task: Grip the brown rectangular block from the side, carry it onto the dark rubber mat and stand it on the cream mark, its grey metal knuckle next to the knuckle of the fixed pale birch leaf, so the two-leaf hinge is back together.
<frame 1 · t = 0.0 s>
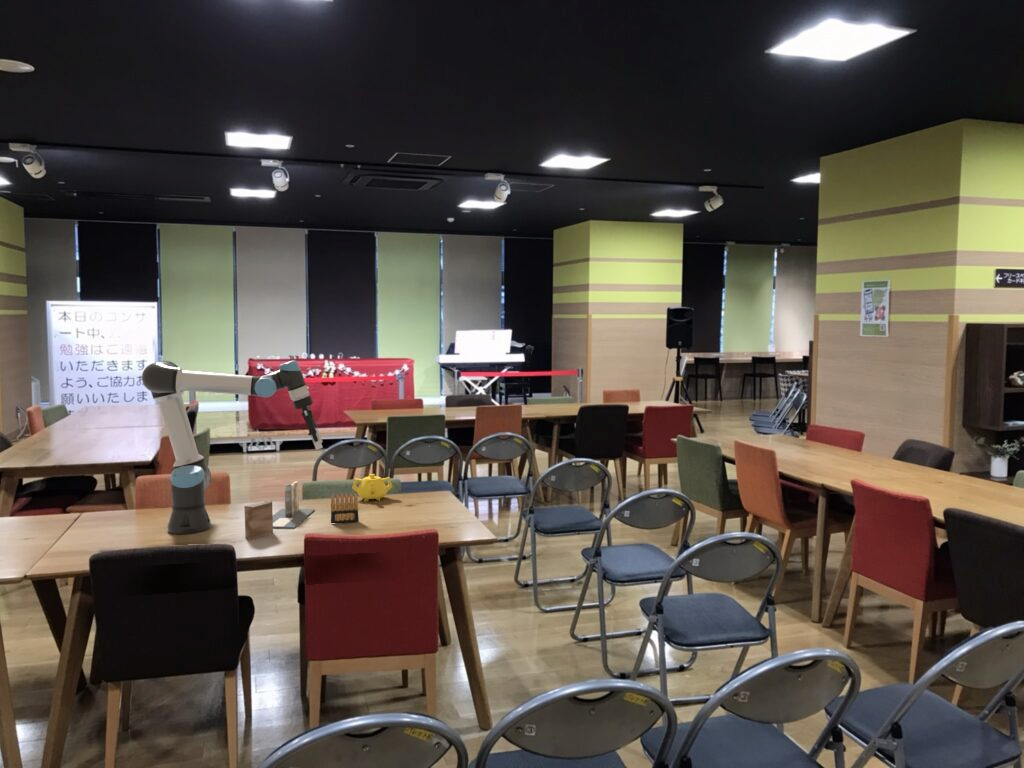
hand: (319, 446, 314), 28 cm above the table, tool tilted 20°, fingers open, 13 cm apart
brown rectangular block: (259, 535, 283), on the table
ammunition clip: (344, 523, 301), on the table
teapot: (372, 499, 340), on the table
birch hinge leaf: (292, 497, 312), on the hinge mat, point 7 cm above the table
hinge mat: (287, 518, 307), on the table
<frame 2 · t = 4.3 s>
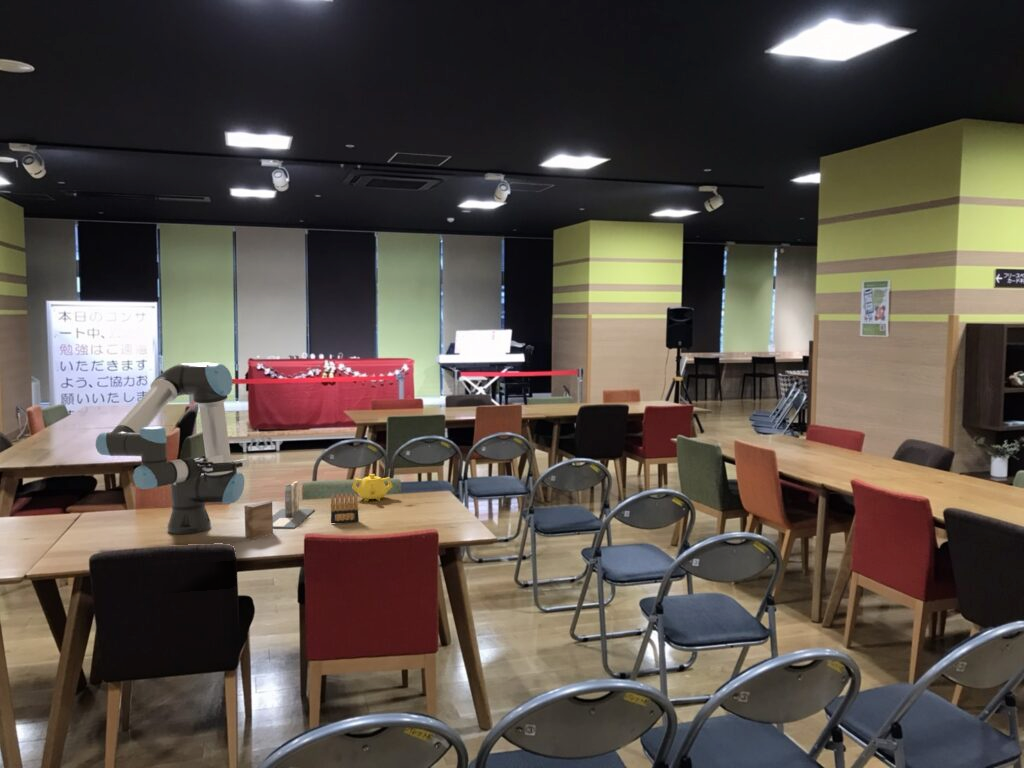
hand: (235, 460, 272), 30 cm above the table, tool horizontal, fingers open, 13 cm apart
nothing on the table moved.
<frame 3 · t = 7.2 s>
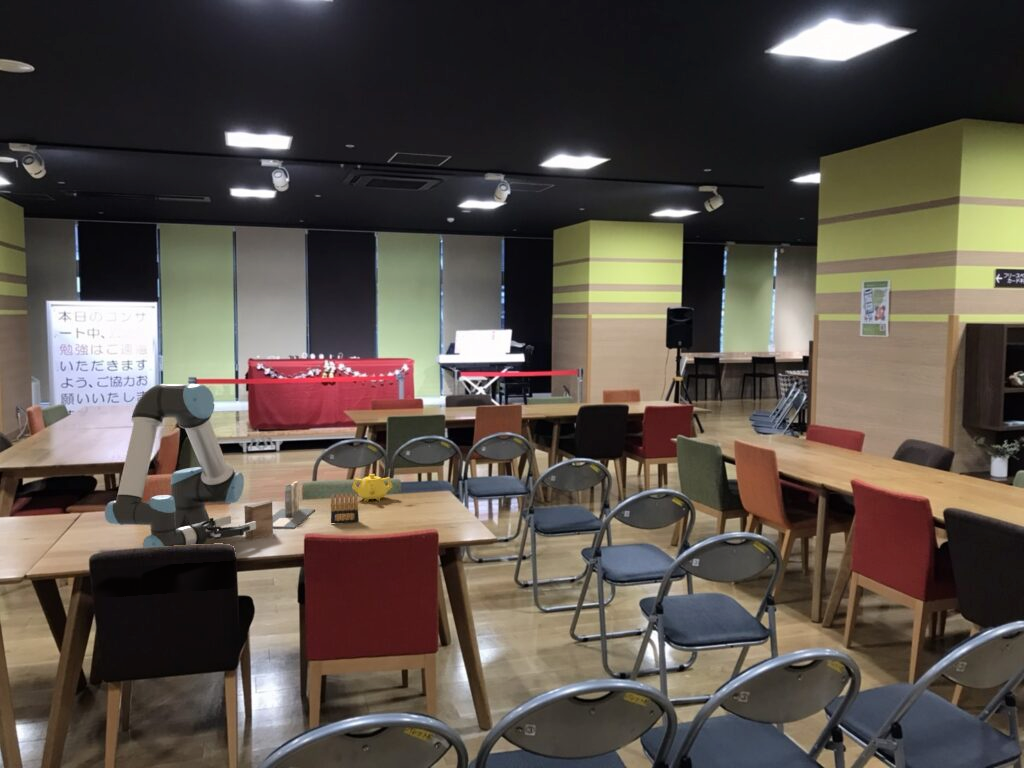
hand: (242, 522, 276), 7 cm above the table, tool horizontal, fingers open, 13 cm apart
nothing on the table moved.
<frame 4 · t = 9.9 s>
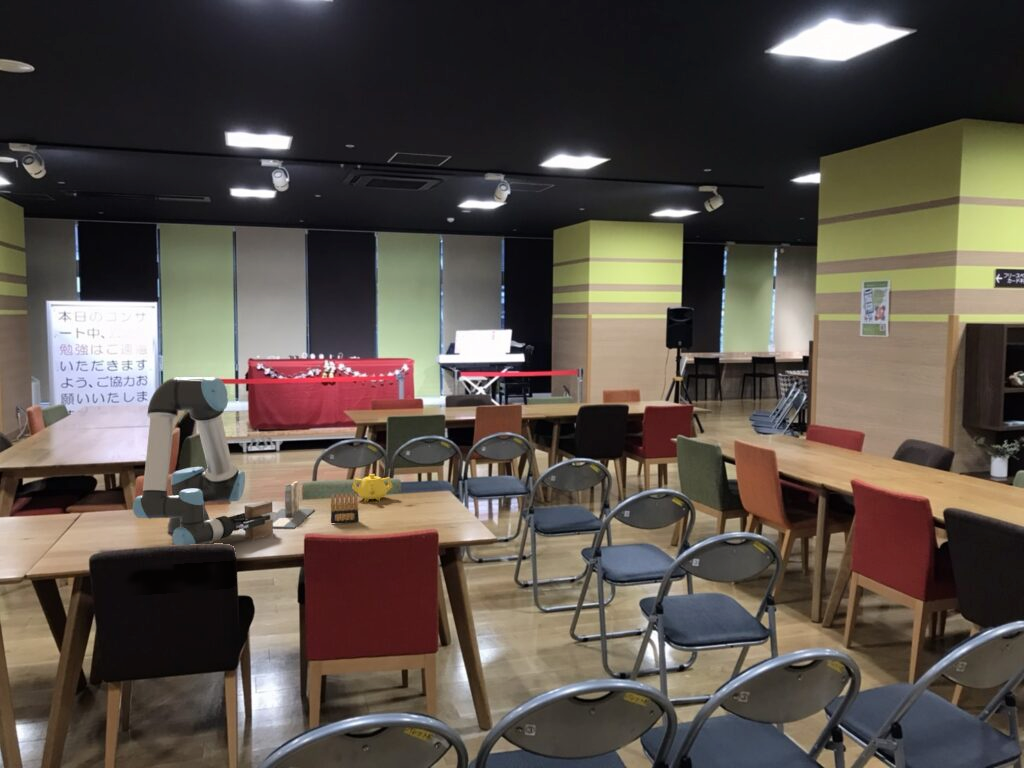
hand: (270, 514, 287), 7 cm above the table, tool horizontal, fingers closed on brown rectangular block, 4 cm apart
brown rectangular block: (259, 535, 283), on the table, touching gripper
everything else where it was.
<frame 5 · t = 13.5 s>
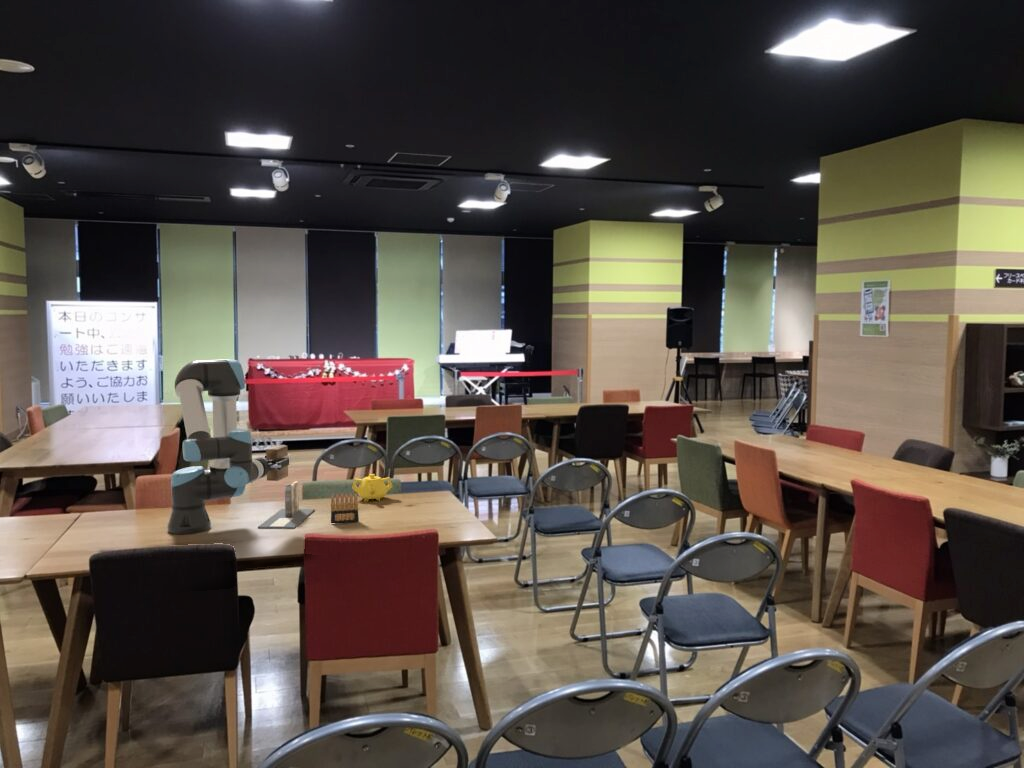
hand: (283, 457, 298), 26 cm above the table, tool horizontal, fingers closed on brown rectangular block, 4 cm apart
brown rectangular block: (277, 478, 293), point 19 cm above the table, touching gripper
everything else where it was.
when the fingers open (9 cm above the table, at t = 17.4 s): brown rectangular block stays where it is, resting on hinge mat.
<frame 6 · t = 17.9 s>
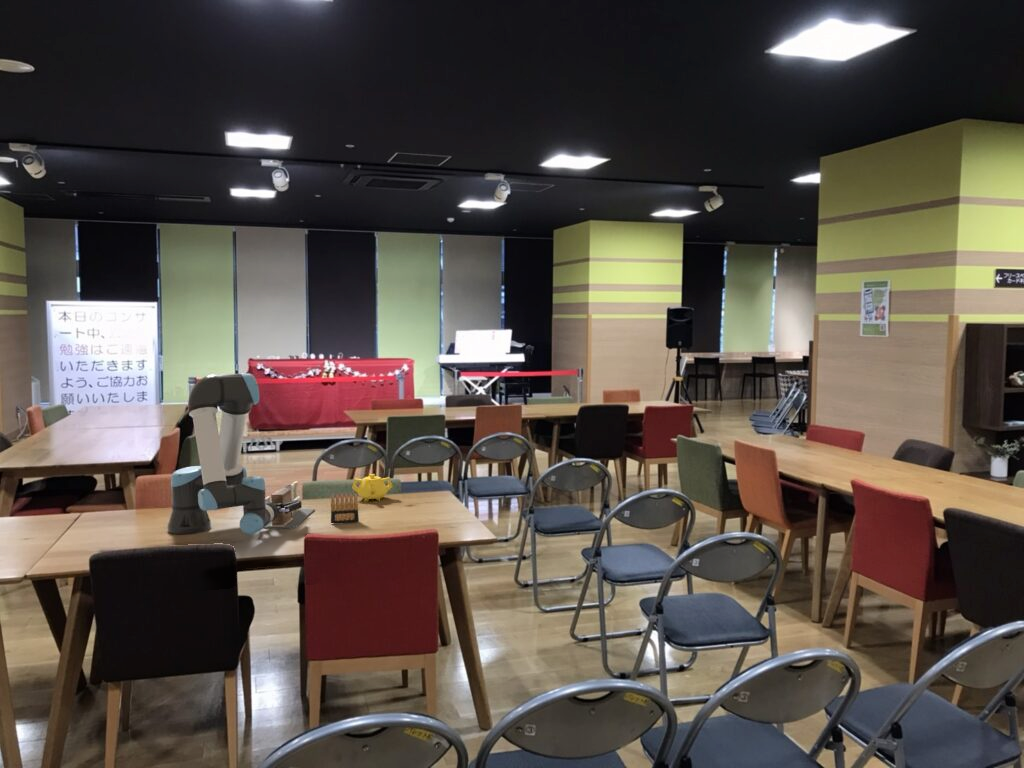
hand: (284, 499, 302), 9 cm above the table, tool horizontal, fingers open, 11 cm apart
brown rectangular block: (281, 522, 299), point 1 cm above the table, touching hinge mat
everything else where it was.
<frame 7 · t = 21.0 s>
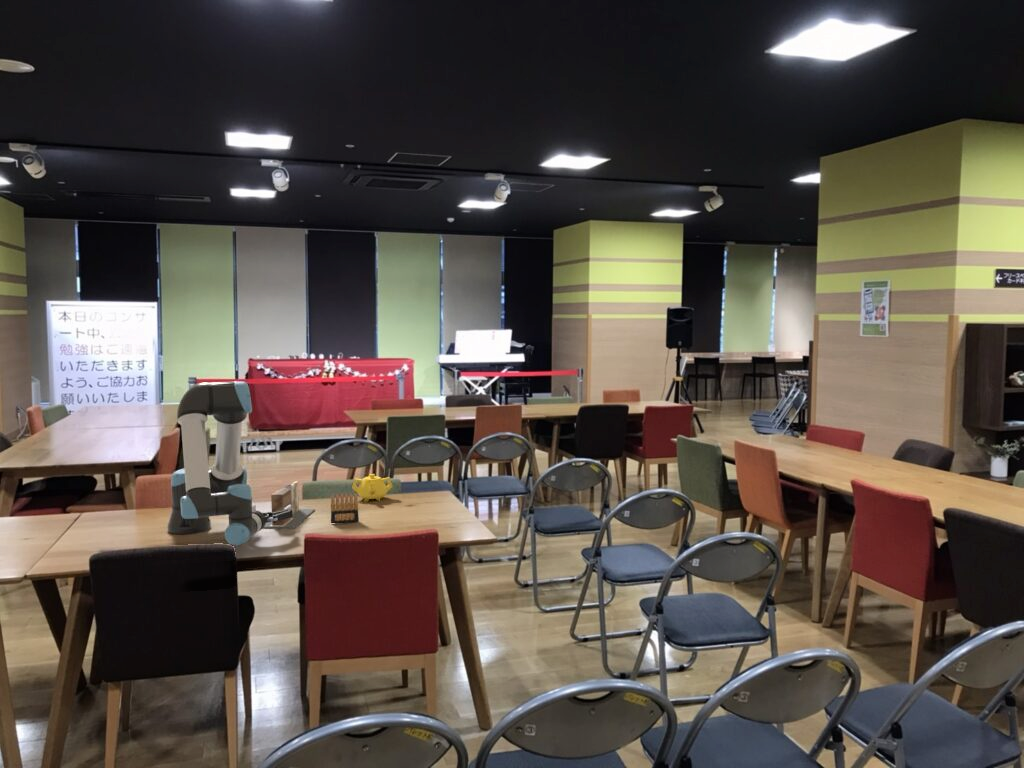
hand: (272, 508, 289), 9 cm above the table, tool horizontal, fingers open, 13 cm apart
nothing on the table moved.
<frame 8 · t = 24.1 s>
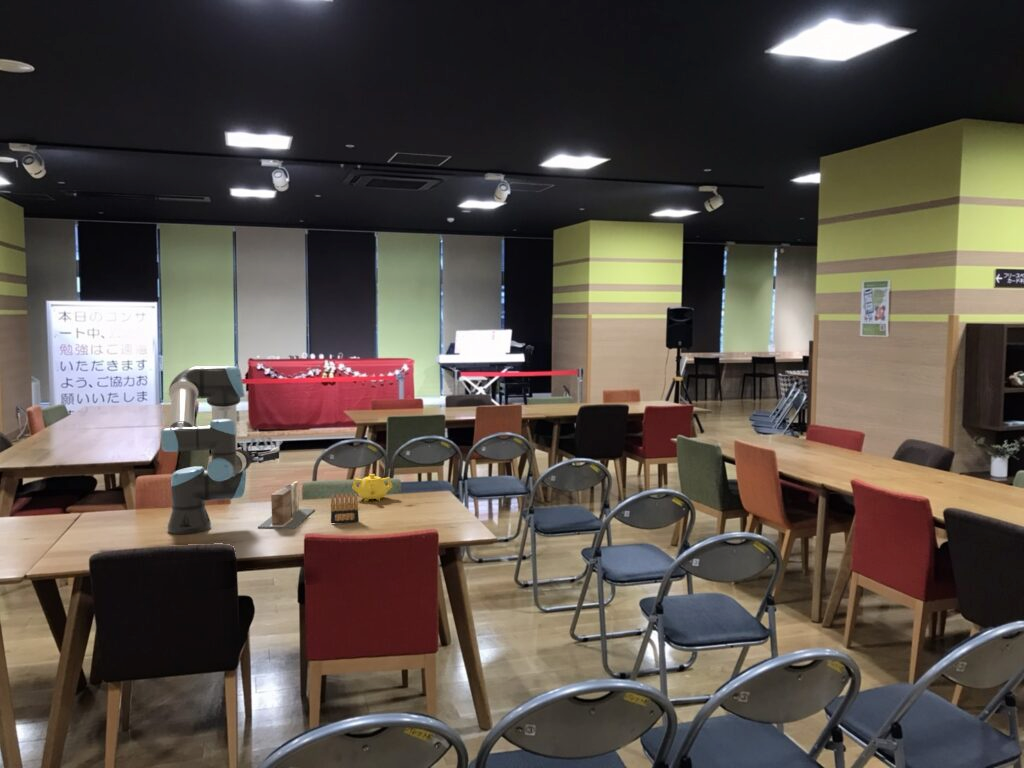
hand: (259, 450, 279), 32 cm above the table, tool horizontal, fingers open, 13 cm apart
nothing on the table moved.
at the end: brown rectangular block 0.0 cm from the target spot on the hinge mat, point 0.7 cm above the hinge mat's base; brown rectangular block tilted 0°; the gripper is holding nothing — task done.
